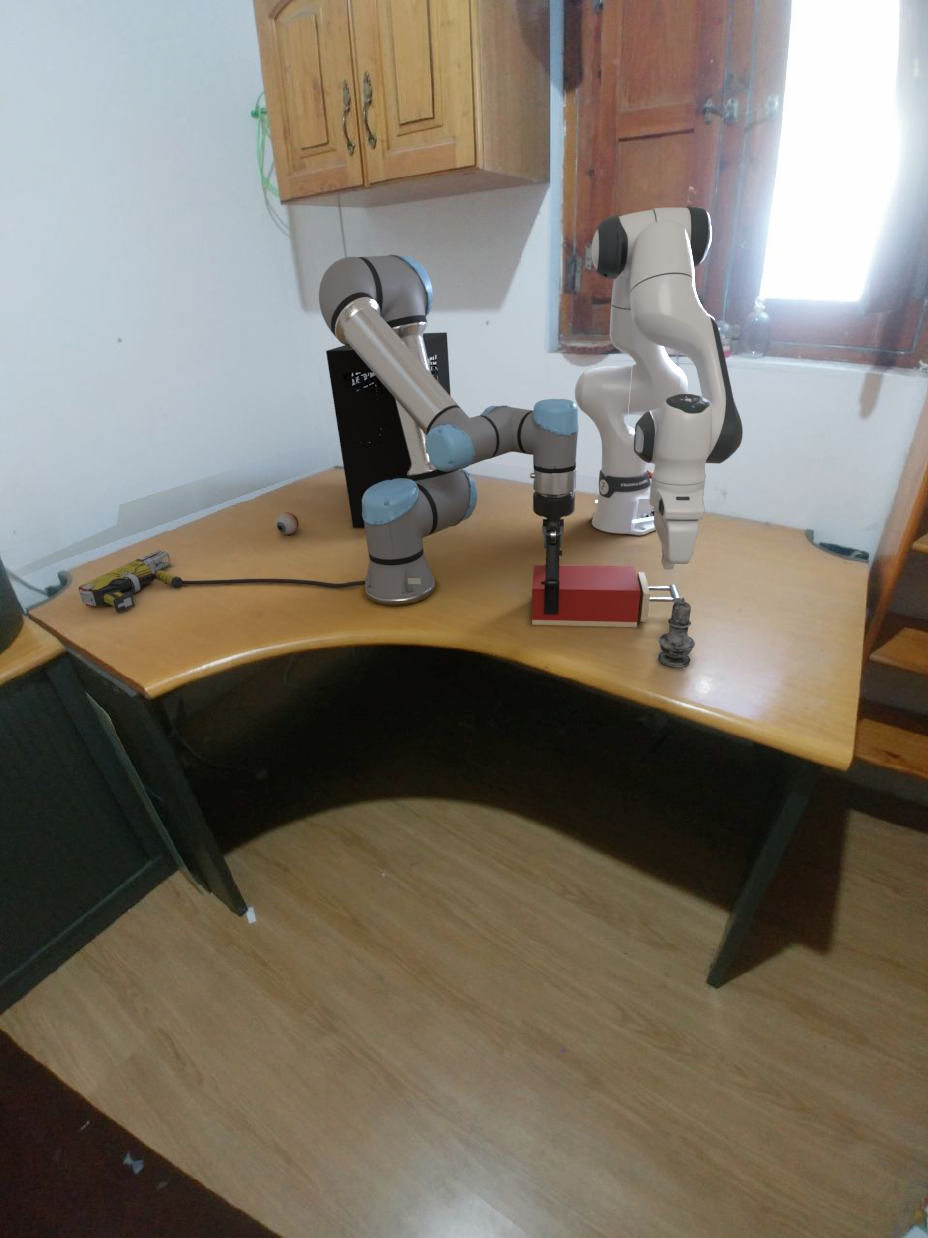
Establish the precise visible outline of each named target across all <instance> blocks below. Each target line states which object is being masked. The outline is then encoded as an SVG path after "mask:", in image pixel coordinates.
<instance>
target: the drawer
mask: <svg viewBox="0 0 928 1238" xmlns="http://www.w3.org/2000/svg"><path fill="white" fill-rule="evenodd" d="M637 579H638V583H639V587H640V600H639V609H638V617H639V620H640V622H642V623H643V622H648V617H649V608H650V602H651V603H653V602H655V603H656V602H657V603H673V604H674V603H676V602H679V601H681V599H682V598H681V594H680V593H679V590H678V587H677V585H676V584H670V585H669V586H651V585H649V584H648V581H647V577H646V574H645V571H637ZM650 591H658V592H659V591H663V592H665V591H666V592H668V591H669V594H670V596H671V597H652V596H651V592H650Z"/></svg>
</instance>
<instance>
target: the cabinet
mask: <svg viewBox="0 0 928 1238" xmlns="http://www.w3.org/2000/svg"><path fill="white" fill-rule="evenodd" d="M532 576H533V577H532V587H531V588H532V589H531V590H532V591H531V597H532V598H531V602H532V603H531V625H533V626H535V625H536V626H567V627H568V626H570V627H572V626H573V627H574V626H575V627H579V626H580V627H607V628H608V627H611V628H616V627H617V628H637V627H638V617H639V613H638V609H639V600H640V587H639V583H638V579H637V577H638V574H637V571H636V567H635V566H633V565H630V566H629V565H628V566H625V565H624V566H623V565H621V566H620V565H559V580H560V584H559V612H558V614H544V589H545V585H541V581H545V578H546V564H545V565H543V564H542V565H540V564H539V565H538V564H535V565H533V574H532Z"/></svg>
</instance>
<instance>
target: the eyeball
mask: <svg viewBox="0 0 928 1238" xmlns="http://www.w3.org/2000/svg"><path fill="white" fill-rule="evenodd" d="M299 525H300V522H299V519H298V517H297V516H296V515H295V514H294V513H292V512H287V511H286V512H282V513H280V514H279V515H278V516H277V517H276V520H275V527H276V529H277V530H278V531H279V532H280V533H281V534H282V535H285V536H286V535H287V536H289V535H293V534H295V533H296V532H297V531H298V529H299Z"/></svg>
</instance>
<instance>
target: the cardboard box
mask: <svg viewBox="0 0 928 1238" xmlns="http://www.w3.org/2000/svg"><path fill="white" fill-rule="evenodd" d="M423 340H424V344H425V348H426V353H427V357H428V361H429V366H430V370H431V374H432V376H433V377H434V378H435V379H436V380H437V381H438V382H439V384H440V385H441V386H442V387H443V388H444V389H445V391H446V392H447V393H448V394H449V395H450V396H451V380H450V364H449V363H450V362H449V361H450V360H449V344H448V332H446V331H445V332H444V331H443V332H424V333H423ZM325 354H326V361H327V366H328V374H329V381H330V386H331V392H332V400H333V406H334V407H333V408H334V412H335V421H336V426H337V432H338V439H339V446H340V452H341V459H342V465H343V473H344V478H345V484H346V492H347V499H348V504H349V510H350V517H351V524H352V528H364V529H365V525H364V520H363V517H362V498H363V495H364V493H365V492H366V491H367V490H368V489H369V488H370V487H371V486H373V485H375V484H377V483H379V482H382V481H386V480H393V479H397V478H405V479H408V477H407V472H408V470H409V468H410V467H411V460H410V456H409V452H408V448H407V444H406V440H405V436H404V433H403V429H402V425H401V421H400V417H399V413H398V409H397V405H396V401H395V398H394V396H393V395H392V394H391V393H390V392H389V391H388V389H387V388H386V387H385V386H384V385H383V384H382V382H381V381H380V380H379V379H378V378H377V376H376V375H375V374H374V373H373V372H372V371H371V369H370V368H369V367H368V366H367V365H366V363H365V362H364V361H363V360H362V359H361V358H360V356H359V355H358V354H357V353H356V352H355V350H354V349H353V348H352V347H351V346H348V345H344V344H343V345H341V346H338V347H334V348H331V349H328V350H325ZM430 358H431V359H430ZM451 397H452V396H451Z"/></svg>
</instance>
